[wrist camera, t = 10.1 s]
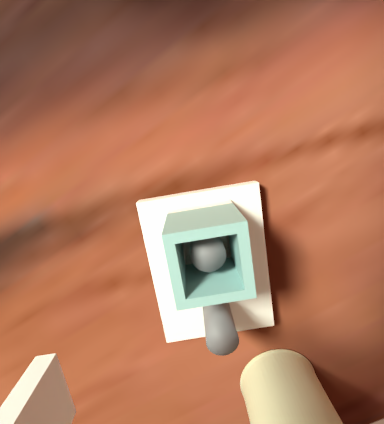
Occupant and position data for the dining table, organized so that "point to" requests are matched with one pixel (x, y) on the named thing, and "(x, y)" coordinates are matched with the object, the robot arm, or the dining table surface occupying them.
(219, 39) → the dining table surface
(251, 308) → the pinboard
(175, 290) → the sleeve
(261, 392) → the can
